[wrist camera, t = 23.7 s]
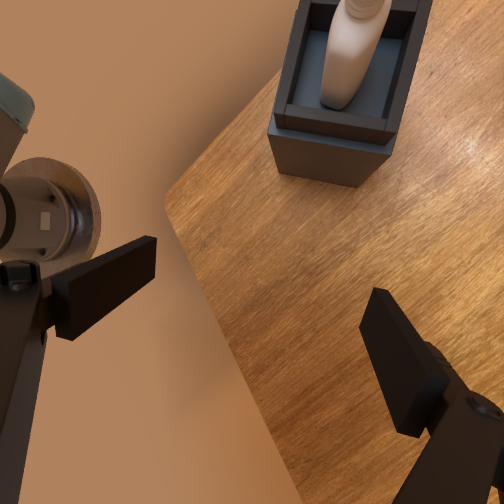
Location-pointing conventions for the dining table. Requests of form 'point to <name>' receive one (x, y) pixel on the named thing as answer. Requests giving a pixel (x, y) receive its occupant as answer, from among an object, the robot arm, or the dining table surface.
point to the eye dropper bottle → (351, 48)
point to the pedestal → (357, 110)
